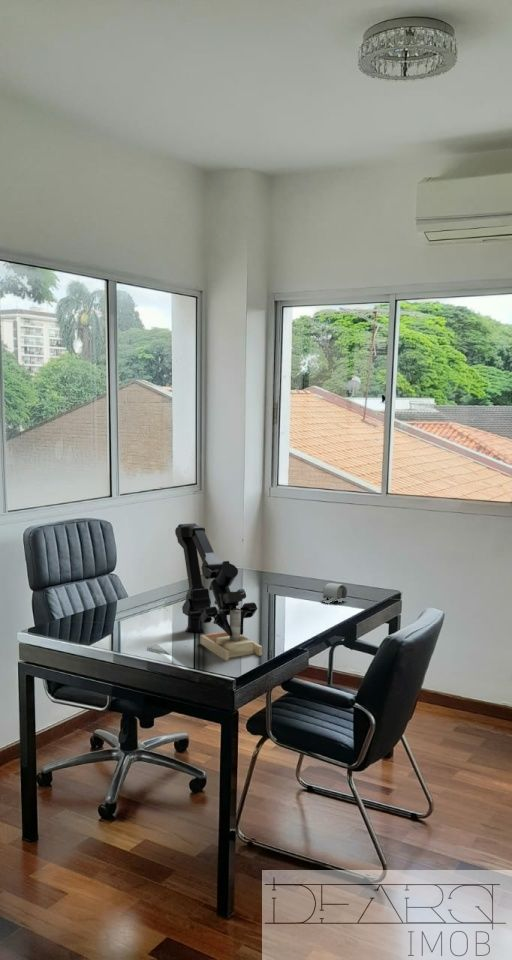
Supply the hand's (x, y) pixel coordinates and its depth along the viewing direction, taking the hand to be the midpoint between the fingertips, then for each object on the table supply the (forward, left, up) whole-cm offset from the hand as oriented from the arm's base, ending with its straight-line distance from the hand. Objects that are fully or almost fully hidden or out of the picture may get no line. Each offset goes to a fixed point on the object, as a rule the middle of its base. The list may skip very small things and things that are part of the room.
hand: (236, 635), depth 253 cm
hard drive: (-4, -22, -8) cm, 24 cm away
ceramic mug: (-76, +37, -7) cm, 85 cm away
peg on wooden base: (-1, -1, -6) cm, 6 cm away
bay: (-4, -2, -7) cm, 8 cm away
